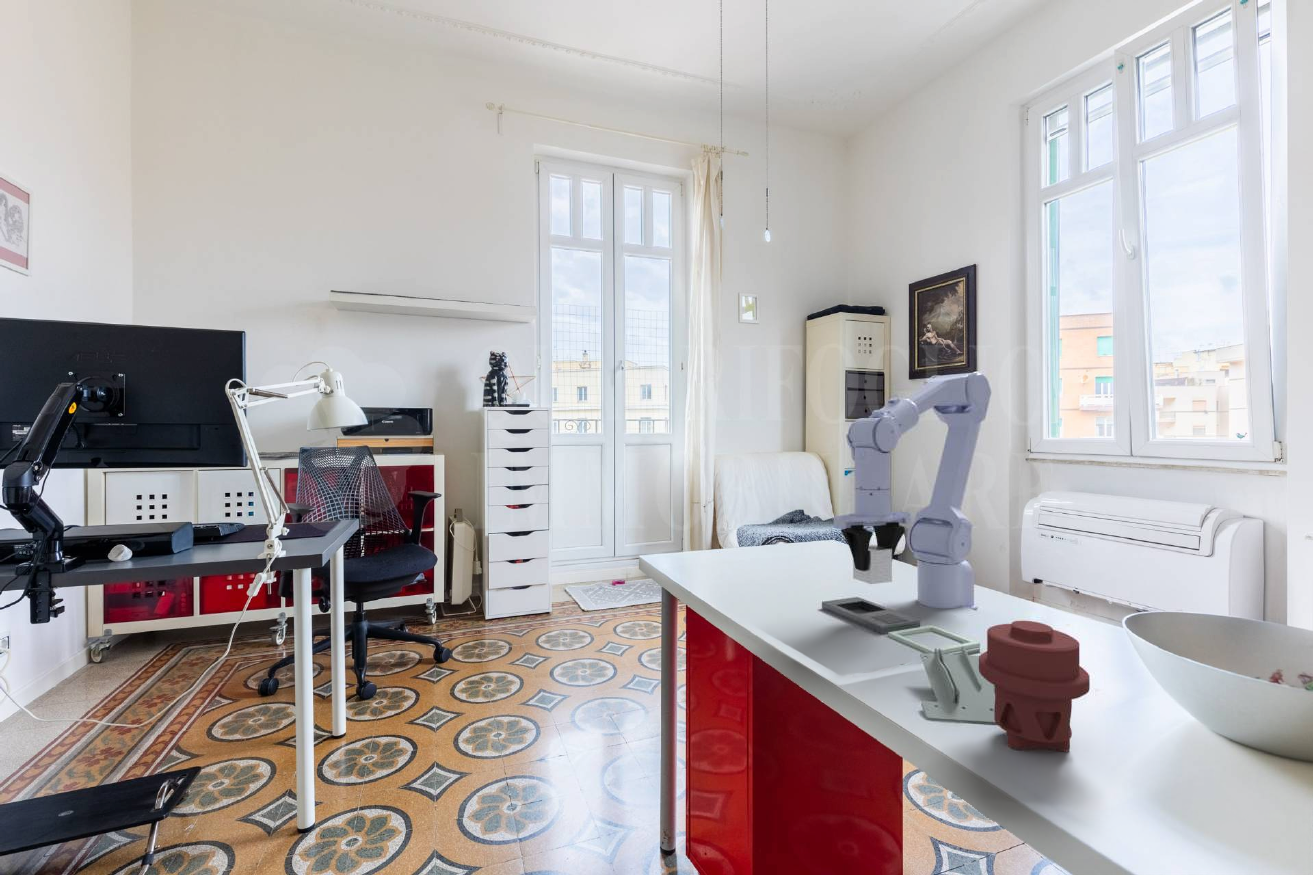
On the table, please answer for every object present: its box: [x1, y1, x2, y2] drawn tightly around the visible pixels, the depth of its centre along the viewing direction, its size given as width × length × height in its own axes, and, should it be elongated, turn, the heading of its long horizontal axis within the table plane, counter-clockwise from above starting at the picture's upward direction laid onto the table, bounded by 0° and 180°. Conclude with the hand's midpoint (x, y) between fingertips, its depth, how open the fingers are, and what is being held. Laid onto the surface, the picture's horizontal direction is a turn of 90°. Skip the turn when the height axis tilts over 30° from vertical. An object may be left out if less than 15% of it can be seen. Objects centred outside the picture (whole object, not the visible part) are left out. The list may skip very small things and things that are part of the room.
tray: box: [887, 624, 981, 656], centre depth 92 cm, size 9×9×2 cm
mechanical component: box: [978, 620, 1091, 752], centre depth 65 cm, size 12×10×10 cm
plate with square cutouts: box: [821, 596, 921, 635], centre depth 104 cm, size 8×15×2 cm, turn 22°
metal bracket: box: [919, 646, 997, 726], centre depth 74 cm, size 14×6×15 cm
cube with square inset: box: [852, 544, 893, 585], centre depth 103 cm, size 4×4×6 cm
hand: (872, 568), depth 103 cm, fingers closed on cube with square inset, 4 cm apart
